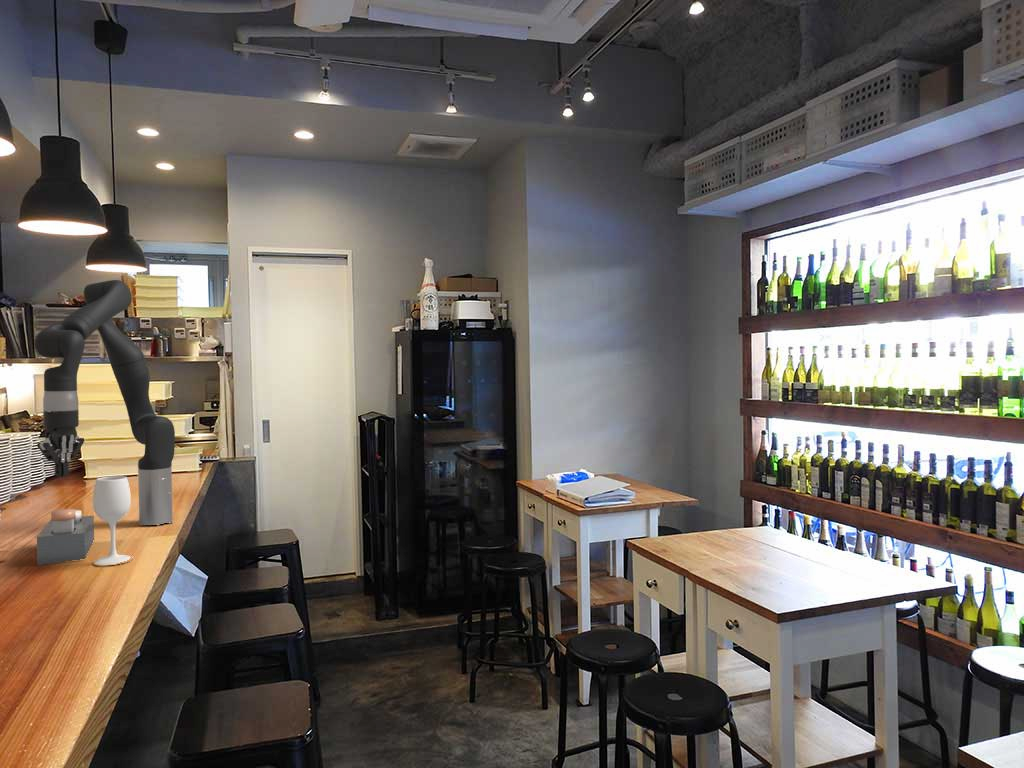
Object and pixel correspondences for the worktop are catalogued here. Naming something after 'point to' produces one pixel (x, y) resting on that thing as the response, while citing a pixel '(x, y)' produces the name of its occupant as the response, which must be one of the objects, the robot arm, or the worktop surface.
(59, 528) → the plunger
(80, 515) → the white ball knob
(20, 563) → the worktop surface
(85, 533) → the plunger panel
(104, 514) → the wineglass
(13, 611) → the worktop surface
